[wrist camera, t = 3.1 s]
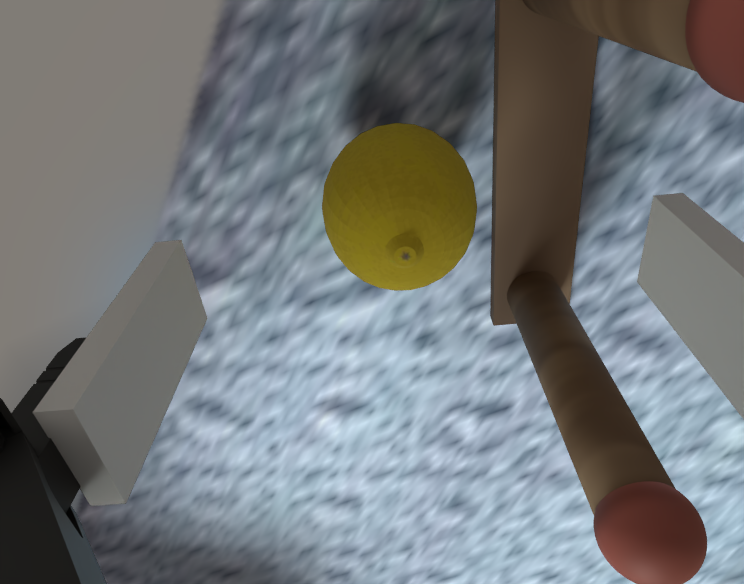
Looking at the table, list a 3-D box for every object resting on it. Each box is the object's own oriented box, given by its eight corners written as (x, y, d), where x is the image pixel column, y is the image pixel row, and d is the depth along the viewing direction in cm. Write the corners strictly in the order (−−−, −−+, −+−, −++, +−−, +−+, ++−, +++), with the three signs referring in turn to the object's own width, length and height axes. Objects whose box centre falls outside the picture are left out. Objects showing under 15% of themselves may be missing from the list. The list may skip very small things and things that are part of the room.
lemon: (480, 188, 24) (525, 283, 17) (371, 246, 25) (373, 356, 18) (420, 72, 21) (445, 130, 14) (303, 146, 23) (276, 229, 16)
